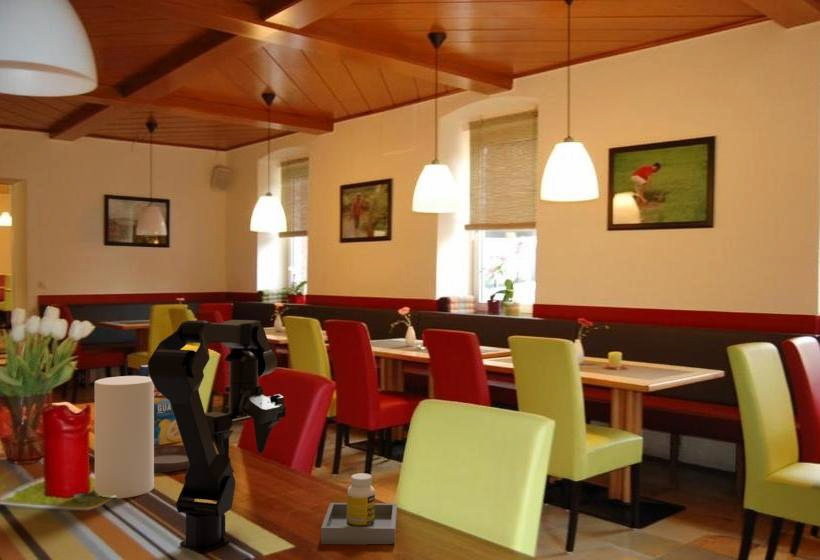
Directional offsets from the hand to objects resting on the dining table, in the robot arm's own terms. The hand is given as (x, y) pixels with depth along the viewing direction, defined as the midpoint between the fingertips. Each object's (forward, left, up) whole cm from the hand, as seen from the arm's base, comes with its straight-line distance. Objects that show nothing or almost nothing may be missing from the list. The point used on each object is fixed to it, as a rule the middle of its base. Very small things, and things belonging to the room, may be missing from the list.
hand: (243, 457), depth 144 cm
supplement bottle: (+8, -24, -11) cm, 28 cm away
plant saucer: (+15, +44, -12) cm, 48 cm away
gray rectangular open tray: (+8, -24, -12) cm, 28 cm away
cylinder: (-4, +35, -12) cm, 37 cm away
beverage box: (+28, +65, -12) cm, 71 cm away
